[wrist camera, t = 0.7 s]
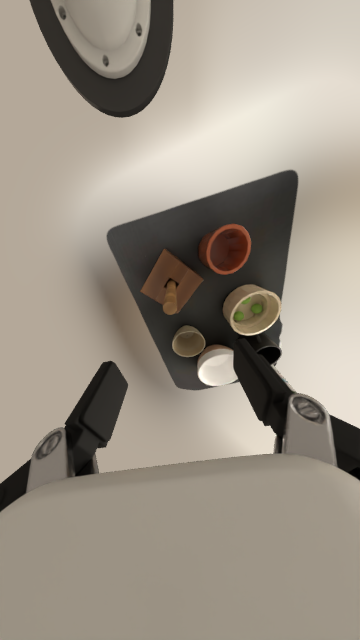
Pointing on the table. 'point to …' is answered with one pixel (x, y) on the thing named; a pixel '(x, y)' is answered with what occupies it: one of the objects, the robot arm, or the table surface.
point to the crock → (225, 249)
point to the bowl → (216, 366)
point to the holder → (175, 270)
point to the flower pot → (188, 342)
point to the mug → (264, 346)
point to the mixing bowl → (251, 320)
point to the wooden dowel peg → (170, 298)
